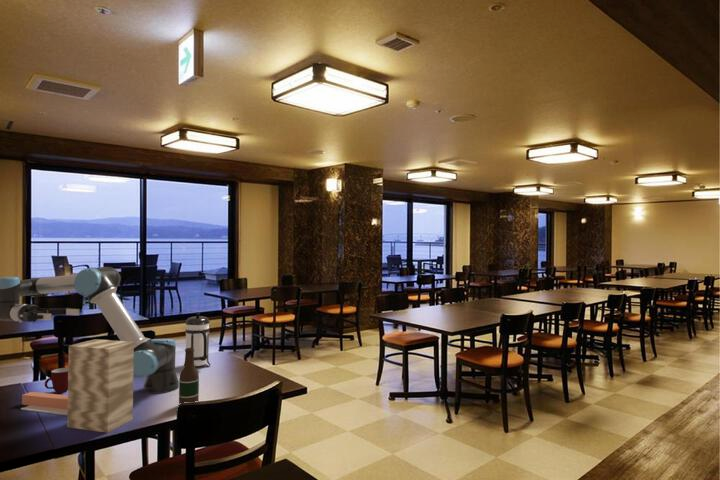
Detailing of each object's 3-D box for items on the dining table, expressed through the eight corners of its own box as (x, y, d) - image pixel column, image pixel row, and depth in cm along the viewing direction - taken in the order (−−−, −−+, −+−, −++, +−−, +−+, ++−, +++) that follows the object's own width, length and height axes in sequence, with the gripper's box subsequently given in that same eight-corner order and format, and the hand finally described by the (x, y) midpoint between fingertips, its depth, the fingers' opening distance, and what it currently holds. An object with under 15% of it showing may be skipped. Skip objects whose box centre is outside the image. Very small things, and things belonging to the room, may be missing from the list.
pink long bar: (90, 407, 182) (90, 397, 182) (82, 411, 178) (82, 401, 178) (31, 401, 188) (31, 391, 188) (22, 404, 184) (22, 394, 184)
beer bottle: (186, 410, 181) (187, 351, 181) (174, 406, 185) (175, 348, 185) (202, 404, 188) (203, 347, 188) (190, 400, 192) (191, 345, 192)
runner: (105, 406, 184) (105, 405, 184) (81, 417, 173) (81, 416, 173) (48, 399, 191) (48, 398, 191) (20, 409, 180) (20, 408, 180)
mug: (49, 398, 193) (49, 375, 193) (41, 394, 198) (41, 372, 198) (75, 391, 202) (75, 369, 202) (67, 388, 207) (67, 366, 207)
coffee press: (175, 369, 238) (176, 314, 239) (191, 362, 254) (192, 309, 255) (205, 371, 236) (206, 315, 236) (219, 363, 251) (220, 311, 252)
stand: (132, 419, 170) (133, 342, 171) (107, 432, 159) (109, 349, 159) (94, 415, 175) (95, 339, 175) (67, 427, 163) (68, 345, 163)
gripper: (51, 317, 207) (89, 318, 202) (-4, 326, 182) (37, 328, 177) (51, 300, 207) (89, 302, 202) (-4, 308, 182) (37, 310, 177)
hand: (65, 314), depth 189 cm, fingers open, 13 cm apart
